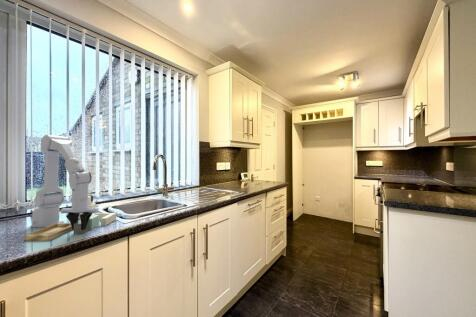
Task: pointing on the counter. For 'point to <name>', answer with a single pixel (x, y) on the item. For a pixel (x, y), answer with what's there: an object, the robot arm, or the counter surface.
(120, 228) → the counter surface
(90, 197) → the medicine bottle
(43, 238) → the tray
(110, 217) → the bay
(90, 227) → the gray green block
